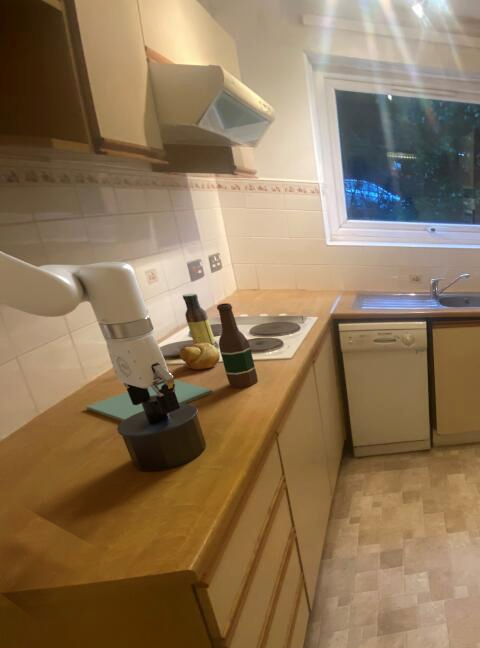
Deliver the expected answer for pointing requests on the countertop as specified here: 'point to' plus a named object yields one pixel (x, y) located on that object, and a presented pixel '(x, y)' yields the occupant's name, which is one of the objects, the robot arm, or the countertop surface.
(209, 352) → the bread roll
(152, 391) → the cutting board
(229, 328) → the beer bottle
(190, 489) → the countertop surface
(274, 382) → the countertop surface
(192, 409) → the pot lid
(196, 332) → the sauce bottle
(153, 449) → the pot
